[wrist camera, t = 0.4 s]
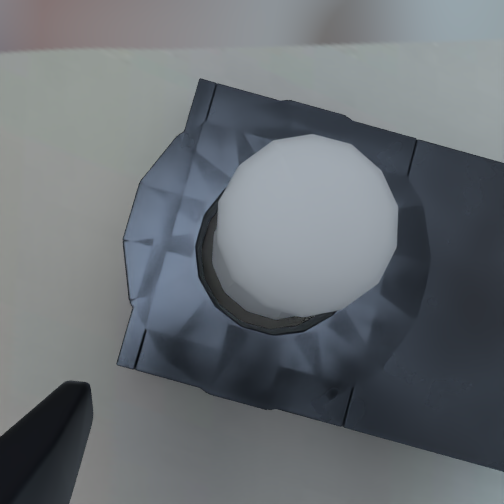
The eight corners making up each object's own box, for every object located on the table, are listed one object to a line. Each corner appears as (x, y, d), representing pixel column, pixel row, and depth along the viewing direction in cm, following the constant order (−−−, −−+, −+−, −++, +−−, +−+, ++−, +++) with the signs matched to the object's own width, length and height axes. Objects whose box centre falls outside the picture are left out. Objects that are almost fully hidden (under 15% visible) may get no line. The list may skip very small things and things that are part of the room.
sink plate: (671, 225, 24) (722, 219, 21) (613, 493, 23) (659, 518, 20) (180, 89, 24) (173, 66, 21) (103, 352, 23) (86, 360, 20)
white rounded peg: (347, 214, 24) (476, 130, 11) (317, 328, 23) (413, 386, 10) (232, 182, 23) (219, 59, 11) (200, 296, 23) (146, 313, 10)
